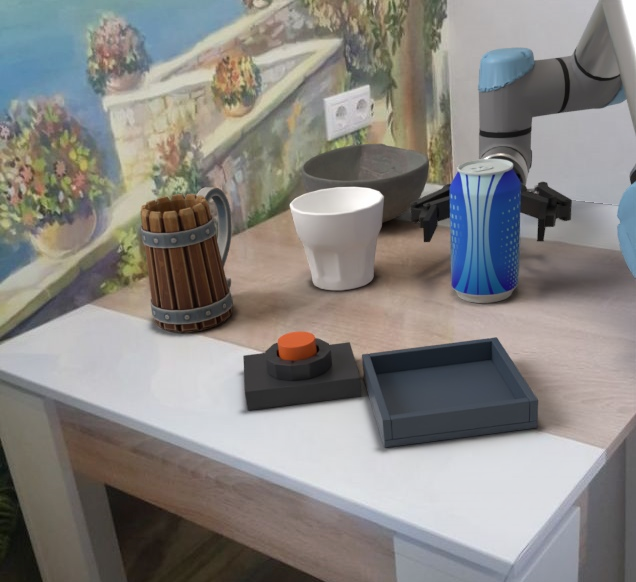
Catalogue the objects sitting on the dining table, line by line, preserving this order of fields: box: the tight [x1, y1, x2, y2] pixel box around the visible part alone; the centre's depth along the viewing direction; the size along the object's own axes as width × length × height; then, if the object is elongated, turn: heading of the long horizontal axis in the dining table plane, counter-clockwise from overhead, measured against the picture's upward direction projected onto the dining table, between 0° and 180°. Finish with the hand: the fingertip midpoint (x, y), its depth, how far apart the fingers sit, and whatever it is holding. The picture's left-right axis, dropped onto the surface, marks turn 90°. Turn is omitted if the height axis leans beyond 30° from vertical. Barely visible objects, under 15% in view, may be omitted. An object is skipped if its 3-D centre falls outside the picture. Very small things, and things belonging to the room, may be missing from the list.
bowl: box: [300, 143, 430, 224], centre depth 140 cm, size 20×20×10 cm
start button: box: [277, 330, 317, 361], centre depth 93 cm, size 4×4×2 cm
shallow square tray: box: [361, 336, 539, 448], centre depth 88 cm, size 15×15×3 cm
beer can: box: [449, 158, 521, 304], centre depth 108 cm, size 8×8×16 cm
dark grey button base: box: [243, 337, 363, 411], centre depth 94 cm, size 12×9×4 cm
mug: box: [139, 186, 234, 333], centre depth 113 cm, size 16×11×15 cm
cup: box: [289, 187, 384, 292], centre depth 119 cm, size 12×12×11 cm
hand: (482, 230), depth 106 cm, fingers open, 13 cm apart
